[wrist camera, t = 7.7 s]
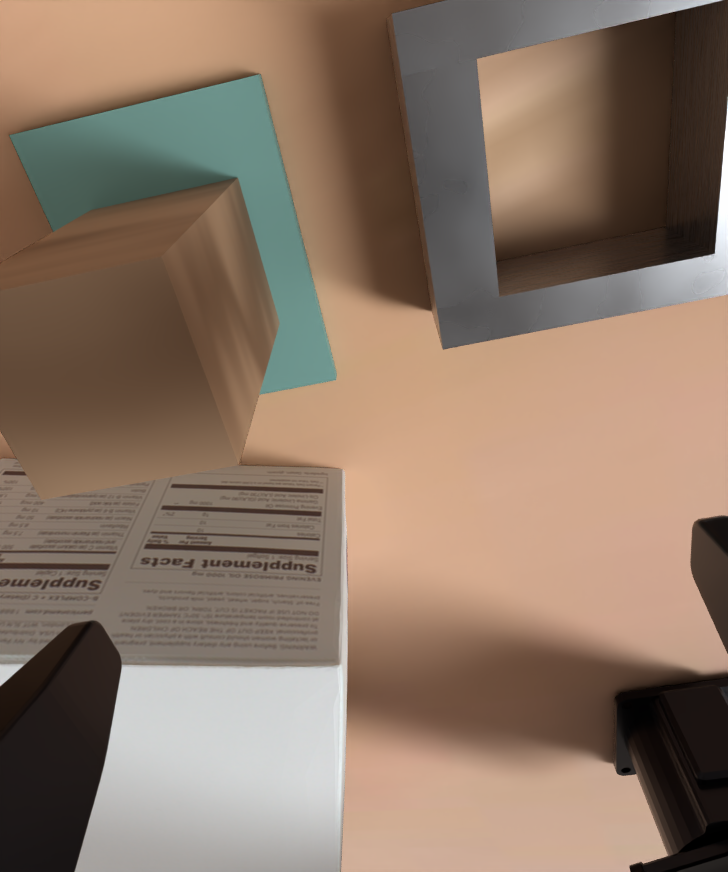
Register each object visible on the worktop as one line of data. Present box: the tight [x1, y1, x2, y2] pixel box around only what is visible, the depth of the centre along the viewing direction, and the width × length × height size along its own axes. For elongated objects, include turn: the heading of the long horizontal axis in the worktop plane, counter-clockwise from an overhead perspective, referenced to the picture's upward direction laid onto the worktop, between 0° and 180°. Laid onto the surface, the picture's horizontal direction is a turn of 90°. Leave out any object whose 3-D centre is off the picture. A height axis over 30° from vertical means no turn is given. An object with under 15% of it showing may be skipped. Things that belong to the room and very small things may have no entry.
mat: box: [9, 74, 337, 395], centre depth 19 cm, size 9×7×1 cm
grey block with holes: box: [386, 0, 728, 349], centre depth 16 cm, size 8×16×3 cm, turn 102°
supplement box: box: [0, 458, 348, 872], centre depth 24 cm, size 17×13×9 cm
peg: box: [0, 178, 280, 500], centre depth 15 cm, size 4×4×8 cm
